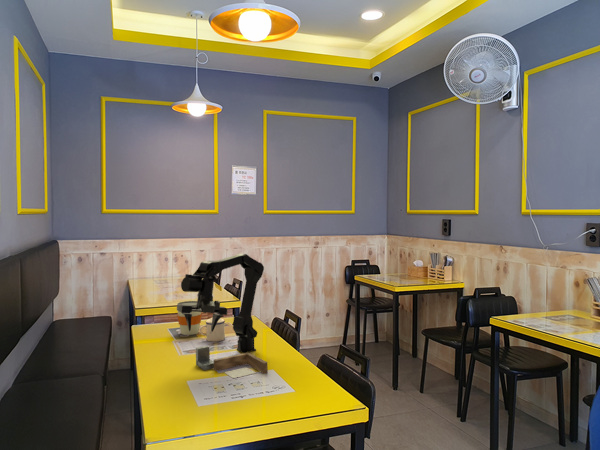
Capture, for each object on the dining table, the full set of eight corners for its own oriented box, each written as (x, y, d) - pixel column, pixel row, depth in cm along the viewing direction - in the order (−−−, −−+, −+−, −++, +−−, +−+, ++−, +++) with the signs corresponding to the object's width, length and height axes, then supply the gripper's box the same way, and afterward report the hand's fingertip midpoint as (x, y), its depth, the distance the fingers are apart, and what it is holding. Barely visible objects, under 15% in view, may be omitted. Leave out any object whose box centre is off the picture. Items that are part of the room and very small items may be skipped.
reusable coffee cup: (199, 335, 229) (198, 305, 229) (174, 336, 229) (173, 306, 229) (204, 329, 242) (204, 300, 241) (180, 329, 242) (180, 300, 241)
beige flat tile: (246, 367, 182) (246, 367, 182) (256, 373, 176) (256, 372, 176) (224, 372, 176) (224, 372, 176) (233, 378, 170) (233, 378, 170)
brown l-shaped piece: (248, 362, 188) (248, 352, 188) (267, 372, 176) (267, 362, 176) (213, 369, 180) (213, 359, 180) (231, 381, 167) (231, 370, 167)
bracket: (196, 365, 186) (195, 347, 186) (207, 362, 189) (207, 345, 188) (204, 370, 179) (203, 352, 179) (215, 367, 182) (215, 350, 182)
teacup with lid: (223, 335, 228) (223, 312, 228) (226, 340, 220) (226, 316, 219) (198, 338, 225) (198, 314, 224) (201, 343, 216) (200, 318, 216)
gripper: (187, 292, 176) (182, 334, 175) (233, 295, 185) (229, 335, 183) (180, 290, 186) (175, 329, 185) (225, 293, 195) (220, 330, 193)
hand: (200, 331), depth 186 cm, fingers open, 9 cm apart
